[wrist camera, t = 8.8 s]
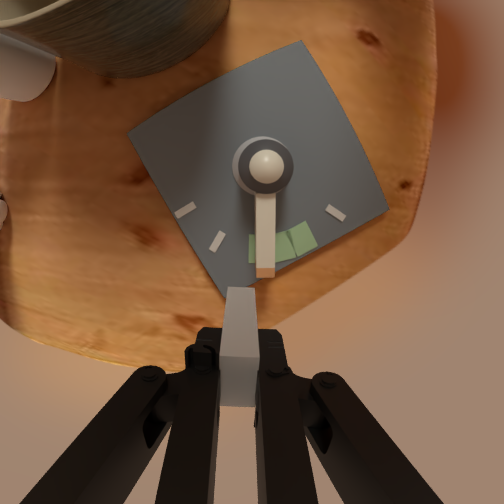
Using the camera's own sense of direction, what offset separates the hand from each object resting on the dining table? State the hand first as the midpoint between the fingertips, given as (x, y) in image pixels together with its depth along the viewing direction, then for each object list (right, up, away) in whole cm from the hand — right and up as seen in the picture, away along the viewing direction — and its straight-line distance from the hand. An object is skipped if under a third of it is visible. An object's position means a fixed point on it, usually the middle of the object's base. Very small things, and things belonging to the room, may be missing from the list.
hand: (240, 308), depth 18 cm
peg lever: (+2, +8, +15) cm, 17 cm away
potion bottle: (-28, +27, +11) cm, 41 cm away
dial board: (+2, +13, +15) cm, 20 cm away
